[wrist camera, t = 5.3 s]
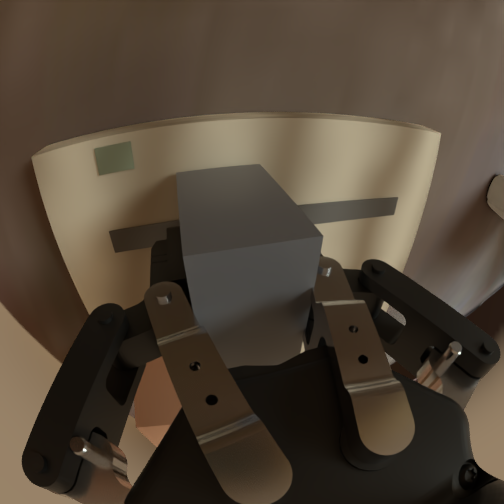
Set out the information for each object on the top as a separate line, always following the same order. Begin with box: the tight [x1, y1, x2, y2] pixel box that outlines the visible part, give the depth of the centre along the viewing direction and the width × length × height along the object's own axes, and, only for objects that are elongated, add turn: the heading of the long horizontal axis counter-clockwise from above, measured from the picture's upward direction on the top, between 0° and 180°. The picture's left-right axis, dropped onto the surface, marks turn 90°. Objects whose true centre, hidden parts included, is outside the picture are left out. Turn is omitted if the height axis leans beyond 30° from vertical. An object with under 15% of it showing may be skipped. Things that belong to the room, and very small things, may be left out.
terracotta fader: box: [134, 357, 182, 447], centre depth 16 cm, size 4×6×6 cm, turn 0°
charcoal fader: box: [176, 164, 323, 369], centre depth 11 cm, size 4×6×6 cm, turn 0°
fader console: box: [31, 112, 441, 353], centre depth 18 cm, size 22×20×2 cm
